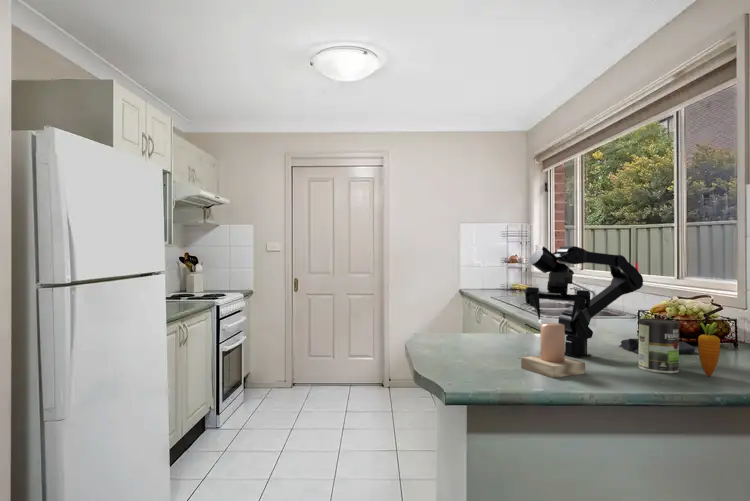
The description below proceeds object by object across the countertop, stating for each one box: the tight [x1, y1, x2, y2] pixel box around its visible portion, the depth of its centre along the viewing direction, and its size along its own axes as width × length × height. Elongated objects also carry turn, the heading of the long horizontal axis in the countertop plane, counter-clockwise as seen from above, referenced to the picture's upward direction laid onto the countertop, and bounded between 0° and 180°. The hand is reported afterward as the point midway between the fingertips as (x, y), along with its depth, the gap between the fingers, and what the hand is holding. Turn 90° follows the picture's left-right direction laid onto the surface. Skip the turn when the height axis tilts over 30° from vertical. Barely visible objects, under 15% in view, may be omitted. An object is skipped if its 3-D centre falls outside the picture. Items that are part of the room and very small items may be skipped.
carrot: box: [697, 321, 721, 377], centre depth 132 cm, size 5×5×15 cm
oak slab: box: [520, 354, 586, 379], centre depth 137 cm, size 12×12×3 cm
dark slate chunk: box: [618, 338, 696, 355], centre depth 168 cm, size 15×22×5 cm
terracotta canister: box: [540, 322, 566, 362], centre depth 137 cm, size 6×6×10 cm
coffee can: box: [637, 318, 681, 374], centre depth 140 cm, size 10×10×14 cm
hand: (555, 319), depth 144 cm, fingers open, 9 cm apart
